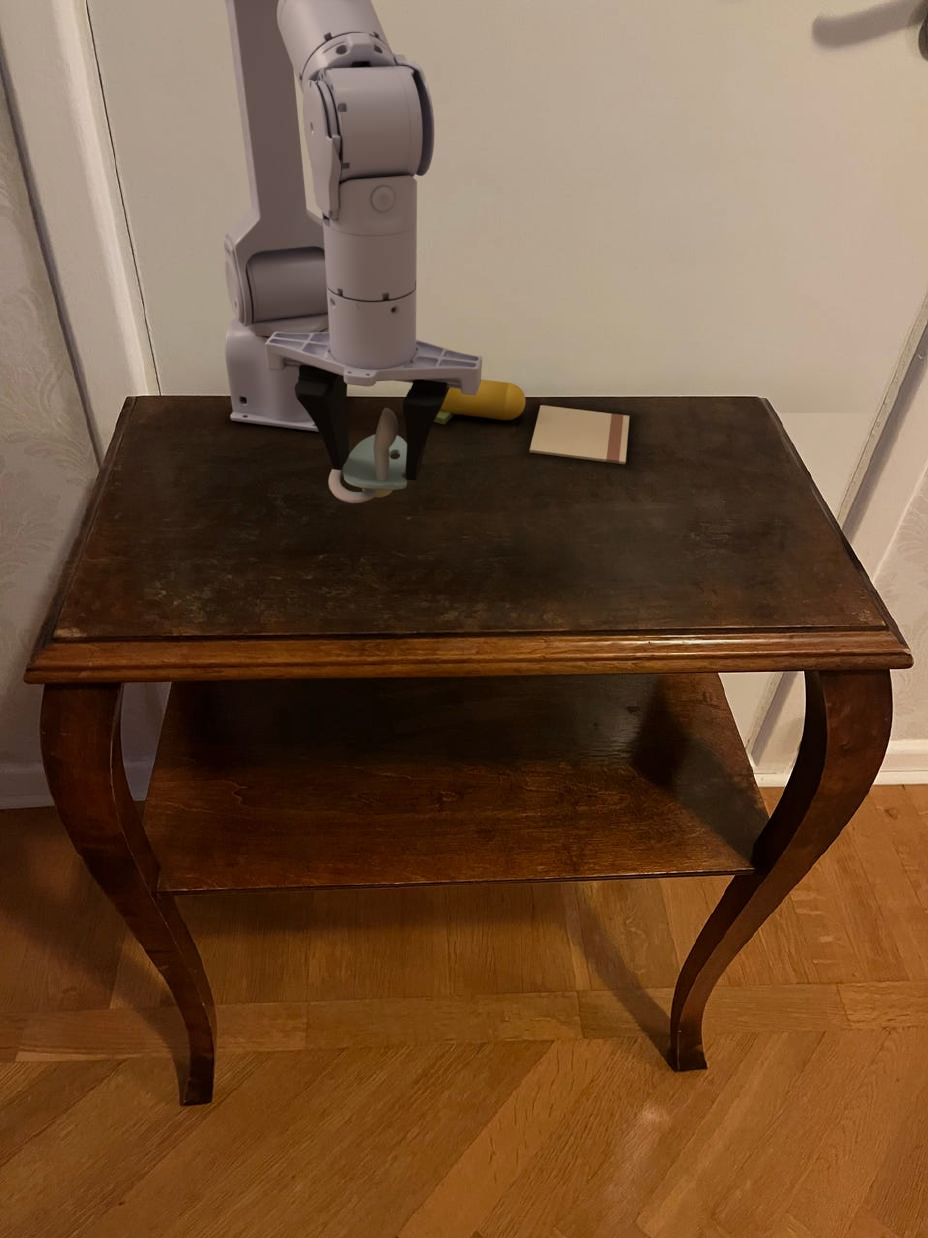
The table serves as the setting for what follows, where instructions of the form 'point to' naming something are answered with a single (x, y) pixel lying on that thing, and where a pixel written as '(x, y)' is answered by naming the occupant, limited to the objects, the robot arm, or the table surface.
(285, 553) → the table surface
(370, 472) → the pacifier
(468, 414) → the corn
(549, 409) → the towel
